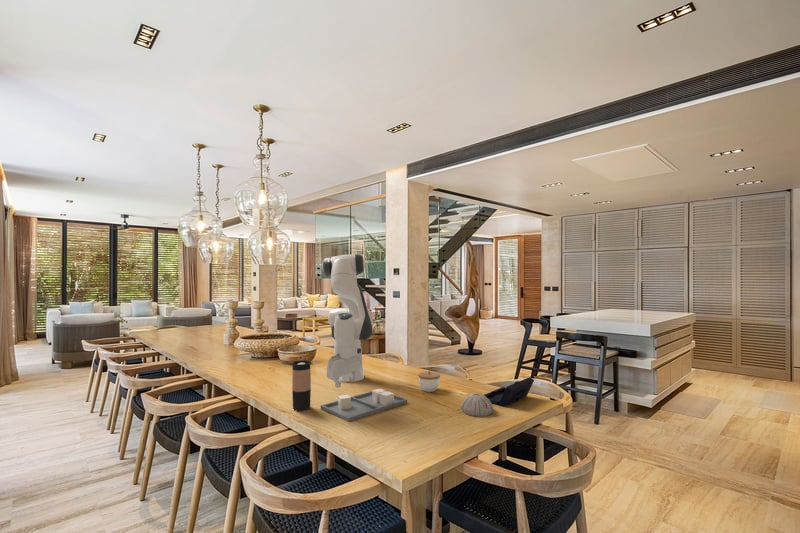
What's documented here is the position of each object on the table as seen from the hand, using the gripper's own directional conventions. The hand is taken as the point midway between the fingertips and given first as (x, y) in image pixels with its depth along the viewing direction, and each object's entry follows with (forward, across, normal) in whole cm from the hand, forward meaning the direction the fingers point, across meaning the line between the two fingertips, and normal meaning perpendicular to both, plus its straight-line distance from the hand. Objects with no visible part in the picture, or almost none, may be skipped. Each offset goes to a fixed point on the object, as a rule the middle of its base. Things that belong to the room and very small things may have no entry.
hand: (345, 383), depth 171 cm
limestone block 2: (+10, +13, -8) cm, 19 cm away
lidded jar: (+12, +41, -20) cm, 47 cm away
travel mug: (+11, -10, +16) cm, 22 cm away
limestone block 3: (+10, +12, -14) cm, 20 cm away
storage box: (+12, +45, -57) cm, 74 cm away
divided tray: (+11, +6, -6) cm, 14 cm away
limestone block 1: (+10, -1, 0) cm, 10 cm away
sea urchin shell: (+11, +23, -51) cm, 57 cm away
